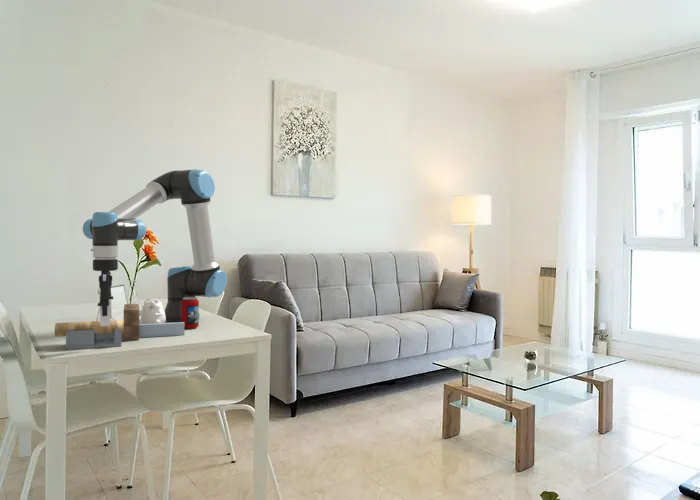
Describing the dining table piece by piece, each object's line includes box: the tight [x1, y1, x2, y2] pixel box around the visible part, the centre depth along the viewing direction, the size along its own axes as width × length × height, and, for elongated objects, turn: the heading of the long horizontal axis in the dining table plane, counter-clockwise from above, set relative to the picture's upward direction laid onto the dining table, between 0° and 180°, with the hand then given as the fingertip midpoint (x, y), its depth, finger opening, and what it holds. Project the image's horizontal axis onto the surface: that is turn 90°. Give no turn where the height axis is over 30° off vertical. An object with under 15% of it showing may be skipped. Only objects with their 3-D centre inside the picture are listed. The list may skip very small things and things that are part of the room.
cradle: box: [65, 328, 123, 351], centre depth 170 cm, size 16×9×6 cm, turn 113°
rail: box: [96, 321, 185, 340], centre depth 185 cm, size 30×2×4 cm, turn 113°
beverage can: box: [180, 296, 200, 330], centre depth 204 cm, size 7×7×12 cm
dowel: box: [54, 319, 124, 338], centre depth 169 cm, size 20×4×4 cm, turn 113°
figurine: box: [139, 297, 167, 324], centre depth 201 cm, size 10×10×12 cm
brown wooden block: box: [122, 303, 140, 342], centre depth 186 cm, size 5×17×11 cm, turn 23°
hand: (106, 322), depth 171 cm, fingers open, 13 cm apart
